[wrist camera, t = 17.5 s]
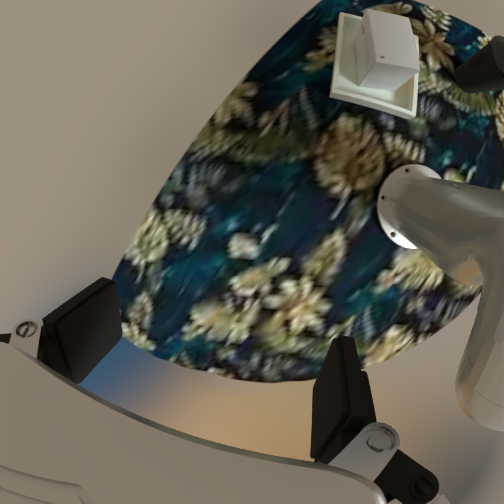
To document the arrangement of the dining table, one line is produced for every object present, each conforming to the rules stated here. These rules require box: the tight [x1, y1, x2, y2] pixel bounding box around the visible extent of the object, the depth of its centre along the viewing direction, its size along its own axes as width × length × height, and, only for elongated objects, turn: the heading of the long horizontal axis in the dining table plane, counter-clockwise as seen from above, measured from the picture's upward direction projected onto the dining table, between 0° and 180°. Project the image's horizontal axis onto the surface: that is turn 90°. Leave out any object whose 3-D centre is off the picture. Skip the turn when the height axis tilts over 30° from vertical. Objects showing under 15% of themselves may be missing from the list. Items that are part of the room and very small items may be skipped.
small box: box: [353, 9, 420, 91], centre depth 24 cm, size 8×6×10 cm
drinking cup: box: [454, 36, 504, 93], centre depth 16 cm, size 8×8×20 cm
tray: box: [330, 12, 419, 119], centre depth 28 cm, size 12×14×3 cm
